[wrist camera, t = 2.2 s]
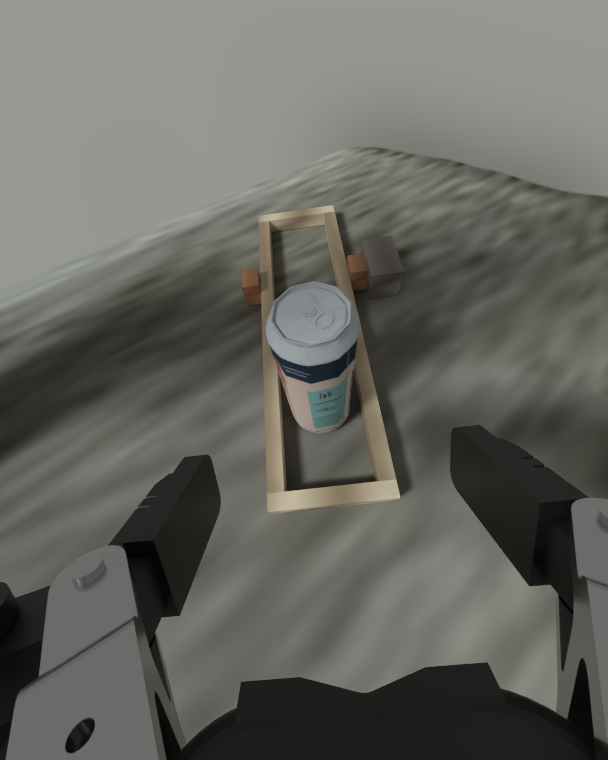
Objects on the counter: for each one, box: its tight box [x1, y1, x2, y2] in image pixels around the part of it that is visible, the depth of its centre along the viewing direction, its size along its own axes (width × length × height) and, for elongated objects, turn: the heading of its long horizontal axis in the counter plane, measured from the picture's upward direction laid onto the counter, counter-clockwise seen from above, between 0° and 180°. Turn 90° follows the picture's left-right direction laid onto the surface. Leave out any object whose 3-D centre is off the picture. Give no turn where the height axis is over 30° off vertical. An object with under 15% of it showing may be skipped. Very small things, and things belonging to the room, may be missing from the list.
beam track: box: [242, 205, 405, 514], centre depth 27 cm, size 15×32×3 cm, turn 5°
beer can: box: [266, 281, 360, 433], centre depth 19 cm, size 5×5×12 cm
